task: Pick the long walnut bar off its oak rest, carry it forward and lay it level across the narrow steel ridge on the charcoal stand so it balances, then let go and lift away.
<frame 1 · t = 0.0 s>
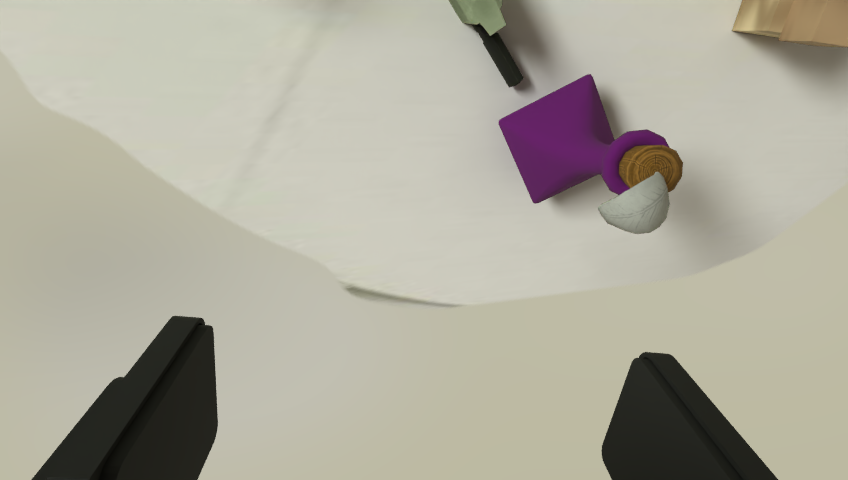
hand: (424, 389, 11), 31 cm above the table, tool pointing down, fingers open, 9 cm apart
purple potion bottle: (548, 133, 40), on the table
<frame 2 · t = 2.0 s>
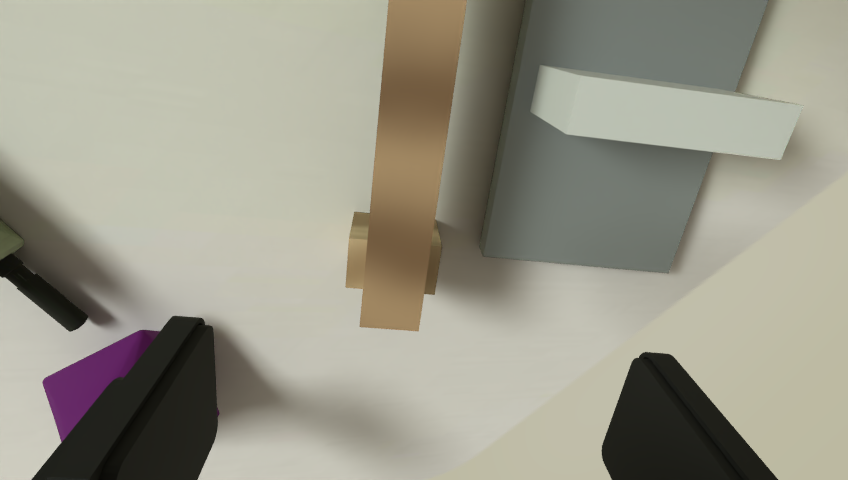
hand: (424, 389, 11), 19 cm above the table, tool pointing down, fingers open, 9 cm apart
purple potion bottle: (158, 363, 33), on the table
walnut bar: (414, 77, 23), point 4 cm above the table, touching bar rest
bar rest: (411, 70, 26), on the table
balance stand: (612, 96, 28), on the table
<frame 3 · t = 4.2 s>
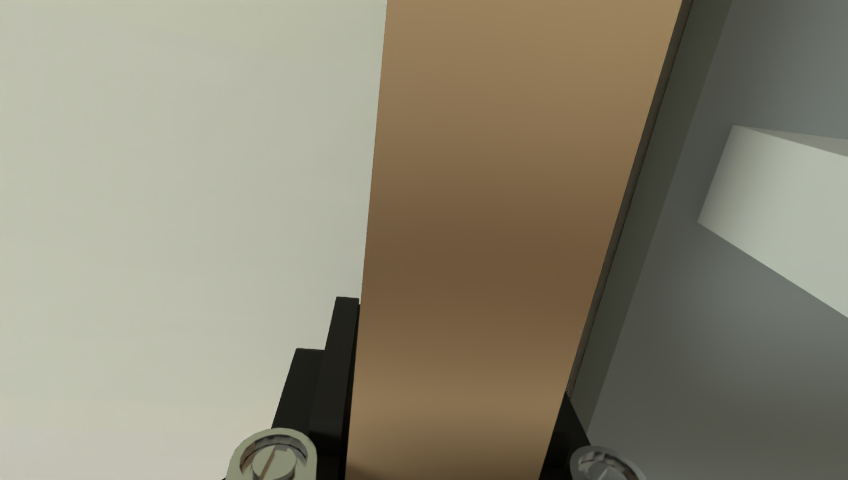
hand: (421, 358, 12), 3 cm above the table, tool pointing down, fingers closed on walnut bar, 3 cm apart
walnut bar: (460, 174, 9), point 4 cm above the table, touching bar rest, gripper
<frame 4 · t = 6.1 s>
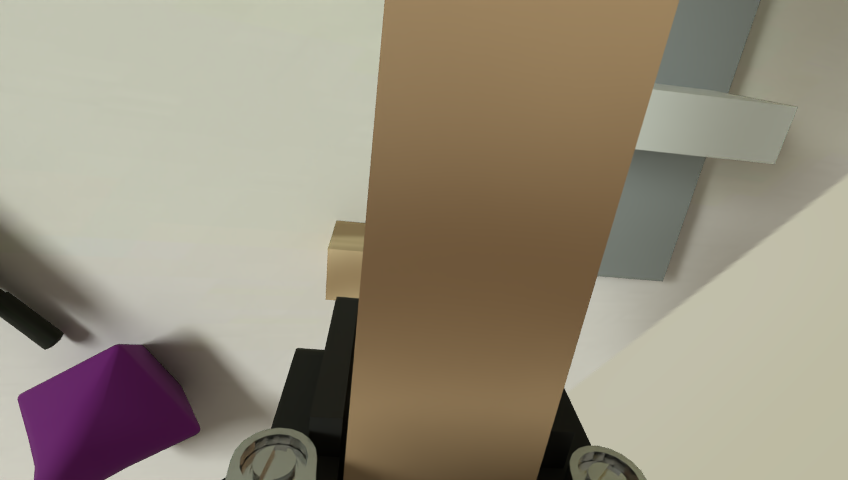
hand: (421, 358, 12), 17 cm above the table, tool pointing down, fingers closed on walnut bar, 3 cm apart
purple potion bottle: (139, 377, 33), on the table
walnut bar: (458, 174, 9), point 19 cm above the table, touching gripper
bar rest: (391, 74, 26), on the table
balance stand: (601, 99, 27), on the table
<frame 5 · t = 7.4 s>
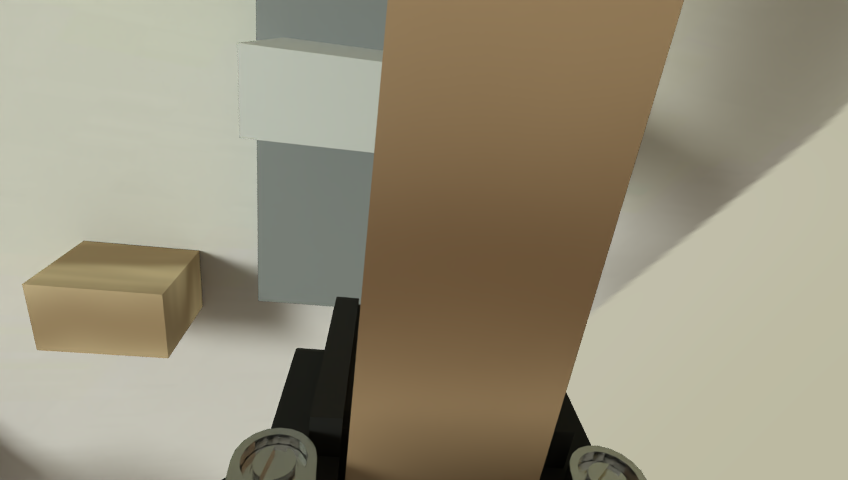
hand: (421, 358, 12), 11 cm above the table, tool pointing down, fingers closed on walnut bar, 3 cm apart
walnut bar: (460, 176, 9), point 13 cm above the table, touching gripper
bar rest: (120, 46, 19), on the table
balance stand: (415, 84, 20), on the table
when the fingers open (7 cm above the table, at t = 8.3 s): walnut bar stays where it is, resting on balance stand.
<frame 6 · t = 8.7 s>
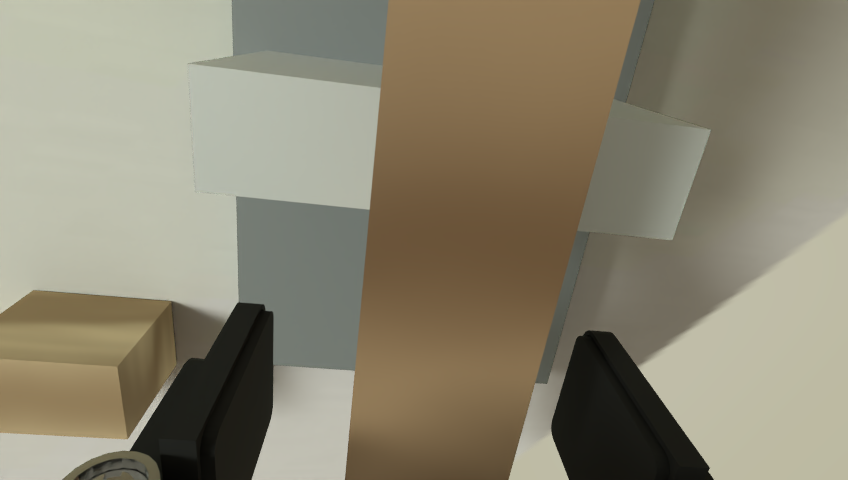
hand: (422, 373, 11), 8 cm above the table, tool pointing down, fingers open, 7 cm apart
walnut bar: (453, 164, 10), point 8 cm above the table, touching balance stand
bar rest: (68, 61, 15), on the table
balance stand: (429, 106, 17), on the table
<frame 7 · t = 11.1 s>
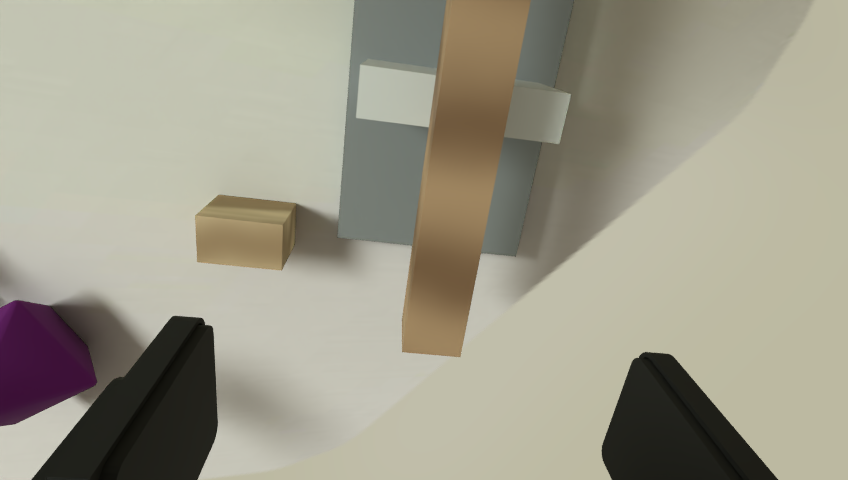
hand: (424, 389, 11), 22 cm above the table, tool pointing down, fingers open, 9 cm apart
purple potion bottle: (48, 336, 36), on the table
walnut bar: (463, 107, 23), point 7 cm above the table, touching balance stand
bar rest: (258, 63, 29), on the table
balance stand: (449, 89, 30), on the table
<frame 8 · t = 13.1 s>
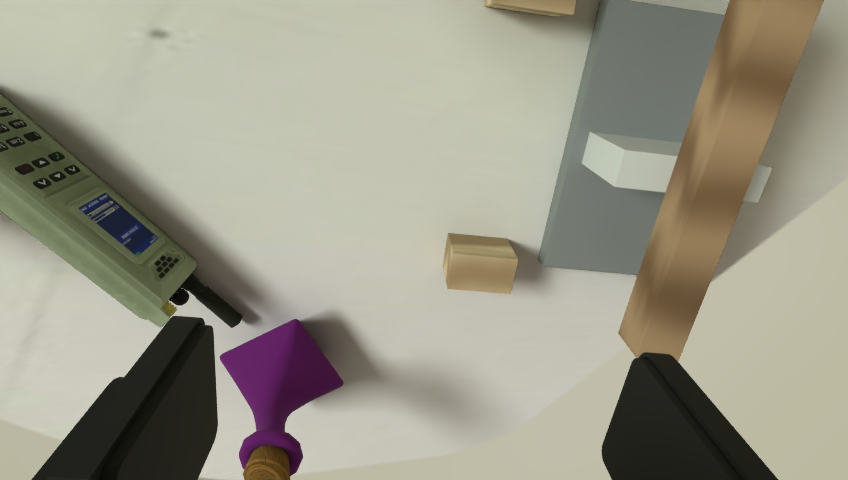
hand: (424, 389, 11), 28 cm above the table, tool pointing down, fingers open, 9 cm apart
purple potion bottle: (290, 346, 44), on the table
handheld radio: (122, 211, 38), on the table
walnut bar: (692, 178, 31), point 7 cm above the table, touching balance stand
bar rest: (496, 133, 37), on the table
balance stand: (639, 150, 38), on the table
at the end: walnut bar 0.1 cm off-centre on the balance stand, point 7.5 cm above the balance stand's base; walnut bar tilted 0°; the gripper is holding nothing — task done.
